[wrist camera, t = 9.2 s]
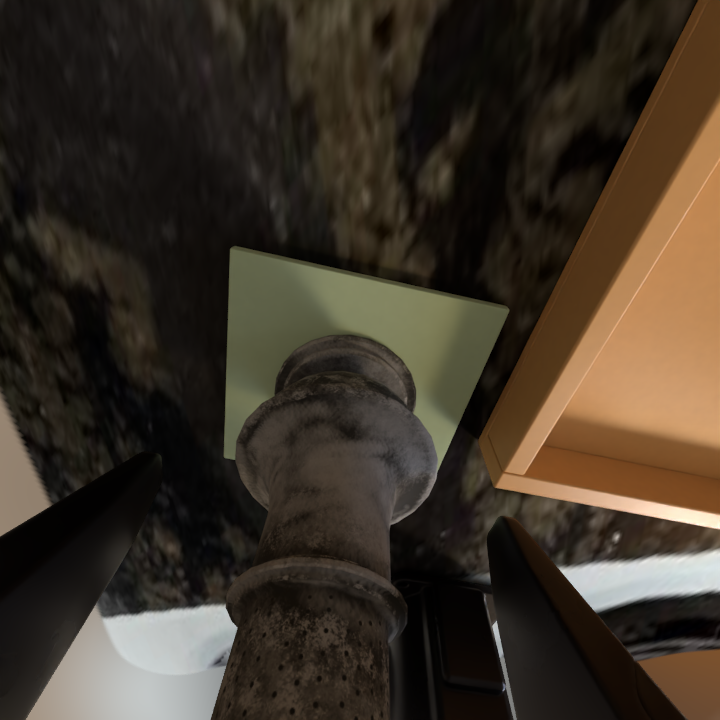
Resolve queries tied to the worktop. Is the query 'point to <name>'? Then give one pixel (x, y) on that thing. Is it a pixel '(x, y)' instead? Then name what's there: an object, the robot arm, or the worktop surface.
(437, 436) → the mat
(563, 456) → the tray
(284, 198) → the worktop surface
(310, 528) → the stone finial
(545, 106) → the worktop surface
